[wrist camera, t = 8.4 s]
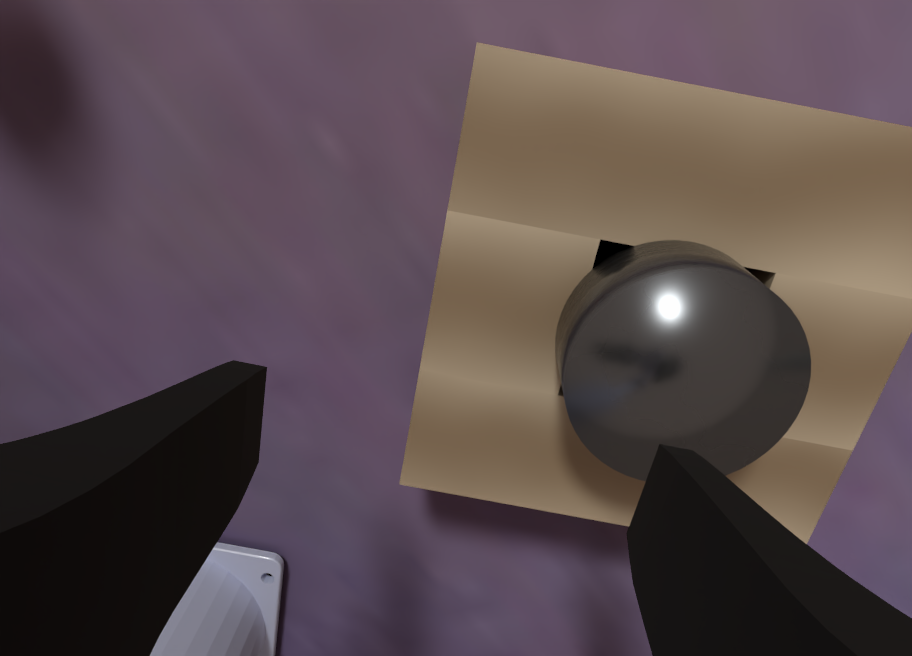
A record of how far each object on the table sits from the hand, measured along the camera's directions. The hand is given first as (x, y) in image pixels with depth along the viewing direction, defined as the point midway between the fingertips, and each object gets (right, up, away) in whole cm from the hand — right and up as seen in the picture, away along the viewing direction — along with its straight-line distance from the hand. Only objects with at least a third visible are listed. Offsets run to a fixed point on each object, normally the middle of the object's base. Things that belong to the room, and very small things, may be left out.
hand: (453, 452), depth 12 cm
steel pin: (+6, +3, +8) cm, 11 cm away
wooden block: (+6, +3, +9) cm, 11 cm away
